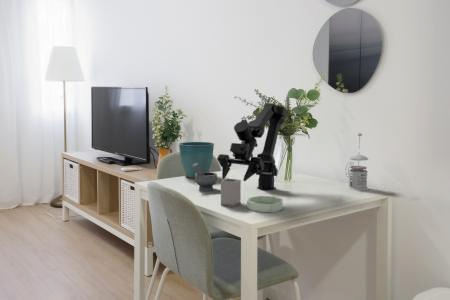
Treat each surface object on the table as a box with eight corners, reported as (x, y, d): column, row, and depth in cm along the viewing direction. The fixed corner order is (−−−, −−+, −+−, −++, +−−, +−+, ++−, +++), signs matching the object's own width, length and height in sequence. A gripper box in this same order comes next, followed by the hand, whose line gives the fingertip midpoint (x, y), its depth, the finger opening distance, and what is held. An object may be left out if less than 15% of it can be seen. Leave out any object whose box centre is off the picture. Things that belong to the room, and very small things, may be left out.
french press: (373, 189, 204) (376, 133, 200) (353, 191, 198) (356, 134, 195) (358, 185, 212) (360, 131, 209) (338, 187, 207) (340, 132, 204)
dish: (267, 201, 180) (267, 194, 180) (289, 209, 169) (289, 201, 169) (240, 206, 173) (240, 198, 172) (262, 214, 162) (262, 205, 162)
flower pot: (175, 174, 240) (175, 142, 237) (208, 172, 245) (208, 140, 243) (183, 180, 222) (182, 146, 220) (218, 178, 228) (218, 144, 226)
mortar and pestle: (211, 186, 209) (211, 160, 208) (220, 190, 201) (220, 163, 200) (188, 188, 204) (188, 162, 203) (197, 192, 196) (197, 165, 194)
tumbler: (227, 202, 179) (227, 178, 178) (240, 203, 177) (240, 179, 175) (220, 205, 174) (220, 180, 173) (233, 207, 172) (233, 182, 171)
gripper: (219, 134, 183) (205, 164, 175) (261, 136, 174) (248, 168, 166) (228, 151, 191) (215, 181, 183) (269, 154, 182) (257, 186, 174)
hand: (233, 179), depth 176 cm, fingers open, 9 cm apart
